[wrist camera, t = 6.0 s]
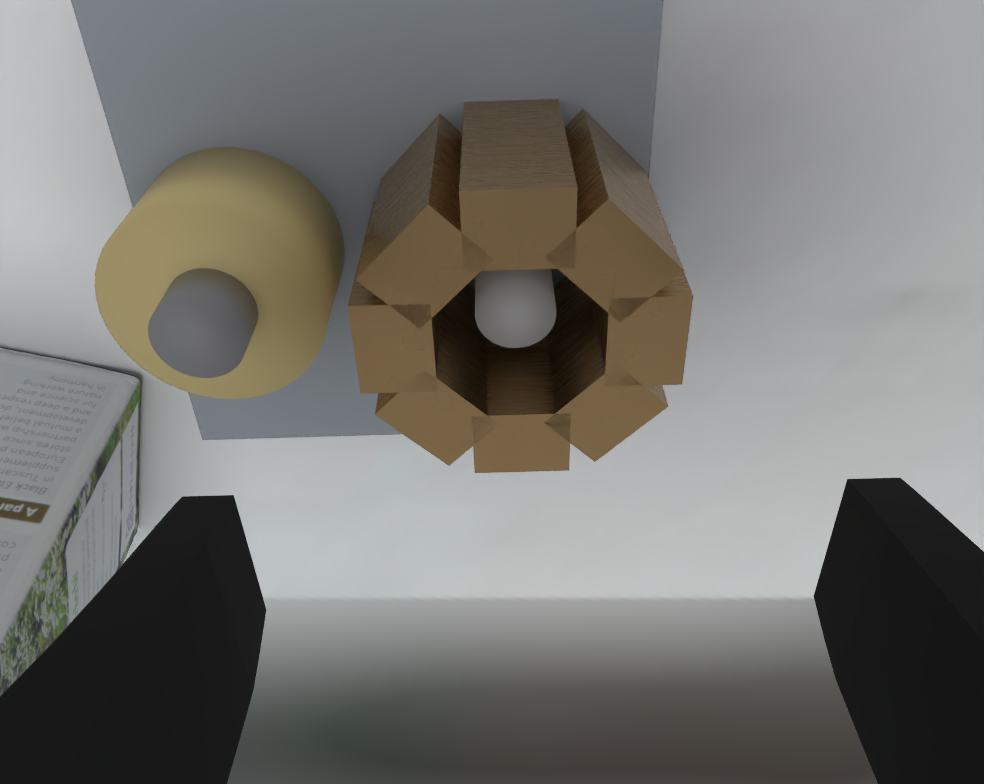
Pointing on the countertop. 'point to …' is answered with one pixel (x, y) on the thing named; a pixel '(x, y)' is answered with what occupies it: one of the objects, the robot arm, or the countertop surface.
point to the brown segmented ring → (518, 246)
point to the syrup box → (61, 495)
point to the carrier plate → (316, 175)
